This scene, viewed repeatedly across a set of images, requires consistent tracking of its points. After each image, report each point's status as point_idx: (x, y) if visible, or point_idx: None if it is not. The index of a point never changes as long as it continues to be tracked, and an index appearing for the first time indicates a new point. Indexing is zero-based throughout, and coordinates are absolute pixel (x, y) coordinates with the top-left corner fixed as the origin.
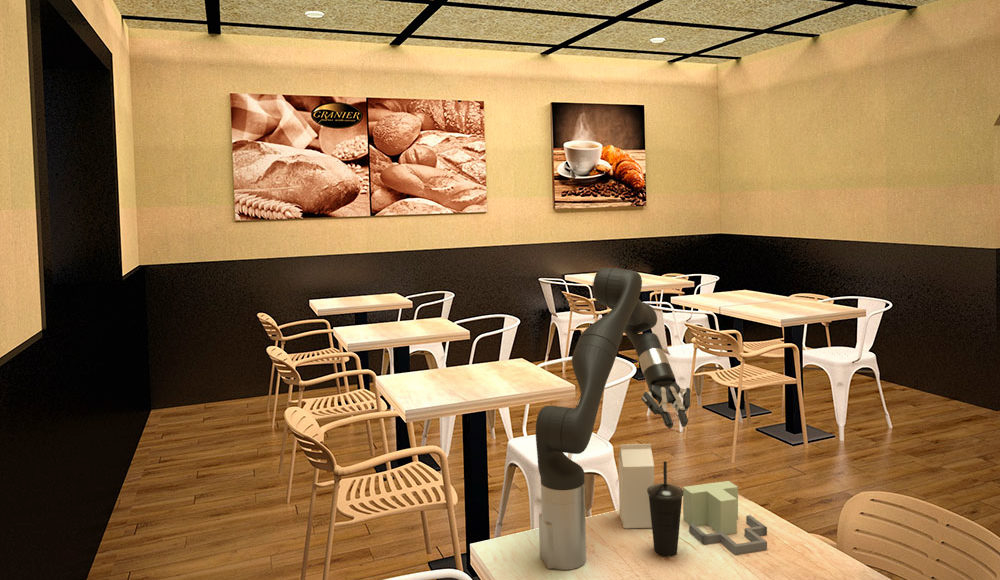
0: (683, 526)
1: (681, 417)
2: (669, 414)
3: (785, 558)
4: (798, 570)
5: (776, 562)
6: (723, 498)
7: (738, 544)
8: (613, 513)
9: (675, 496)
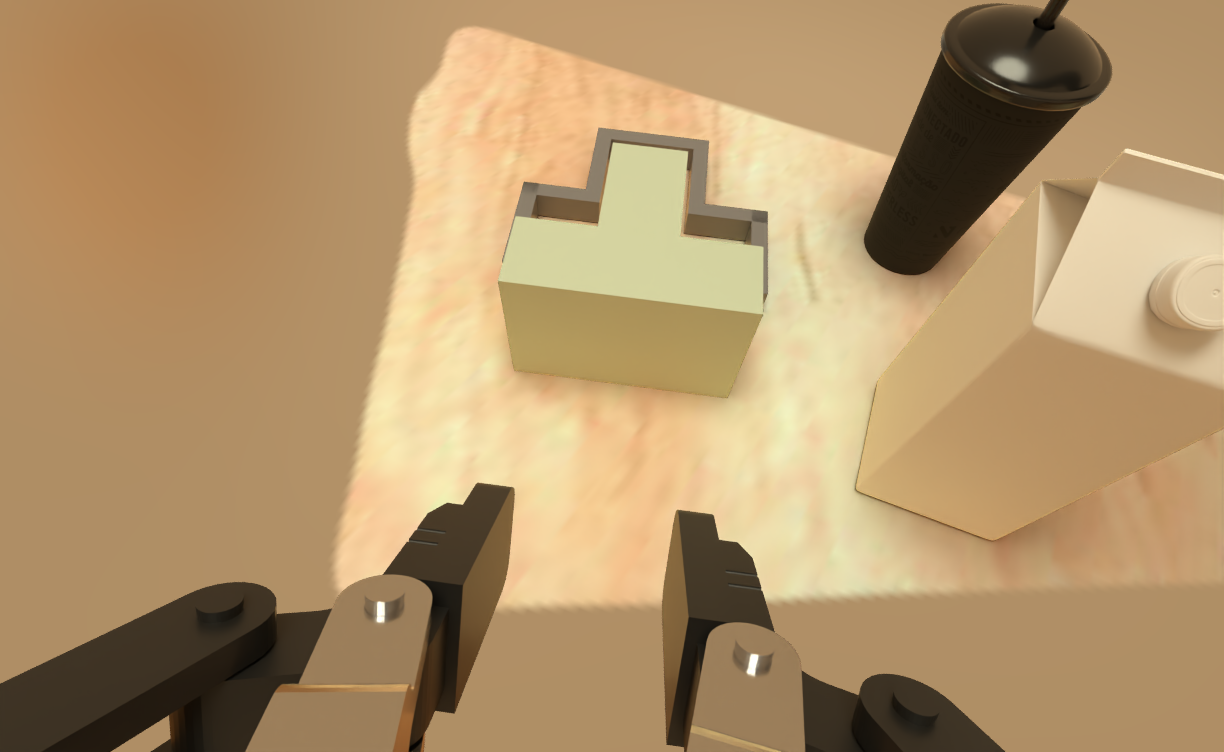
0: (758, 351)
1: (485, 571)
2: (691, 589)
3: (586, 108)
4: (602, 68)
5: (624, 104)
6: (660, 163)
7: (691, 145)
8: (1016, 580)
9: (1001, 4)
